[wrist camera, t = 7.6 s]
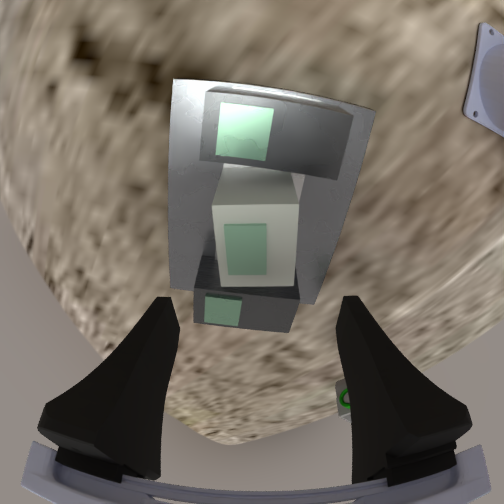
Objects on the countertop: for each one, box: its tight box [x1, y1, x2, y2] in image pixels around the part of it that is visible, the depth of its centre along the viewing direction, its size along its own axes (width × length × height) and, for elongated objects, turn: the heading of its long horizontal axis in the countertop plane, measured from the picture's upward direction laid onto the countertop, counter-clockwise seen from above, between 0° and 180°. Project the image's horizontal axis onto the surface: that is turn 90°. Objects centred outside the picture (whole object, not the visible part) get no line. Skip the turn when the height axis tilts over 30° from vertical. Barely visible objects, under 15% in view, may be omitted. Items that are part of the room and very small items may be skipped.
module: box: [212, 167, 299, 287], centre depth 17 cm, size 4×5×5 cm
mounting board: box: [168, 78, 376, 333], centre depth 19 cm, size 12×16×5 cm
